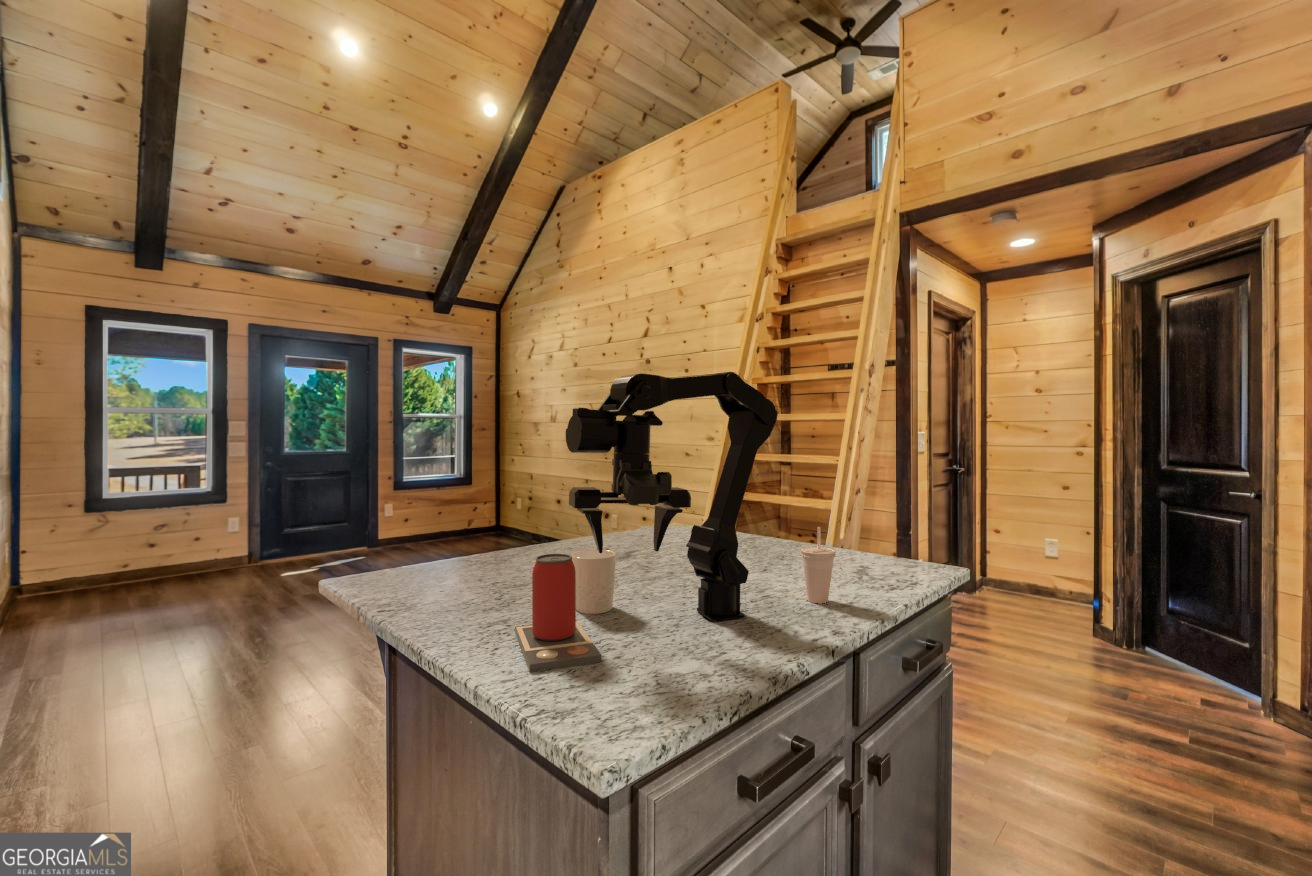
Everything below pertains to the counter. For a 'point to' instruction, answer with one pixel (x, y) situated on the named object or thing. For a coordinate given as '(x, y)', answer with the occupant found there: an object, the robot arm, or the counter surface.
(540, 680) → the counter surface
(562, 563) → the beer can
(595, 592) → the white cup
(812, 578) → the smoothie
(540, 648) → the slate card
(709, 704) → the counter surface
